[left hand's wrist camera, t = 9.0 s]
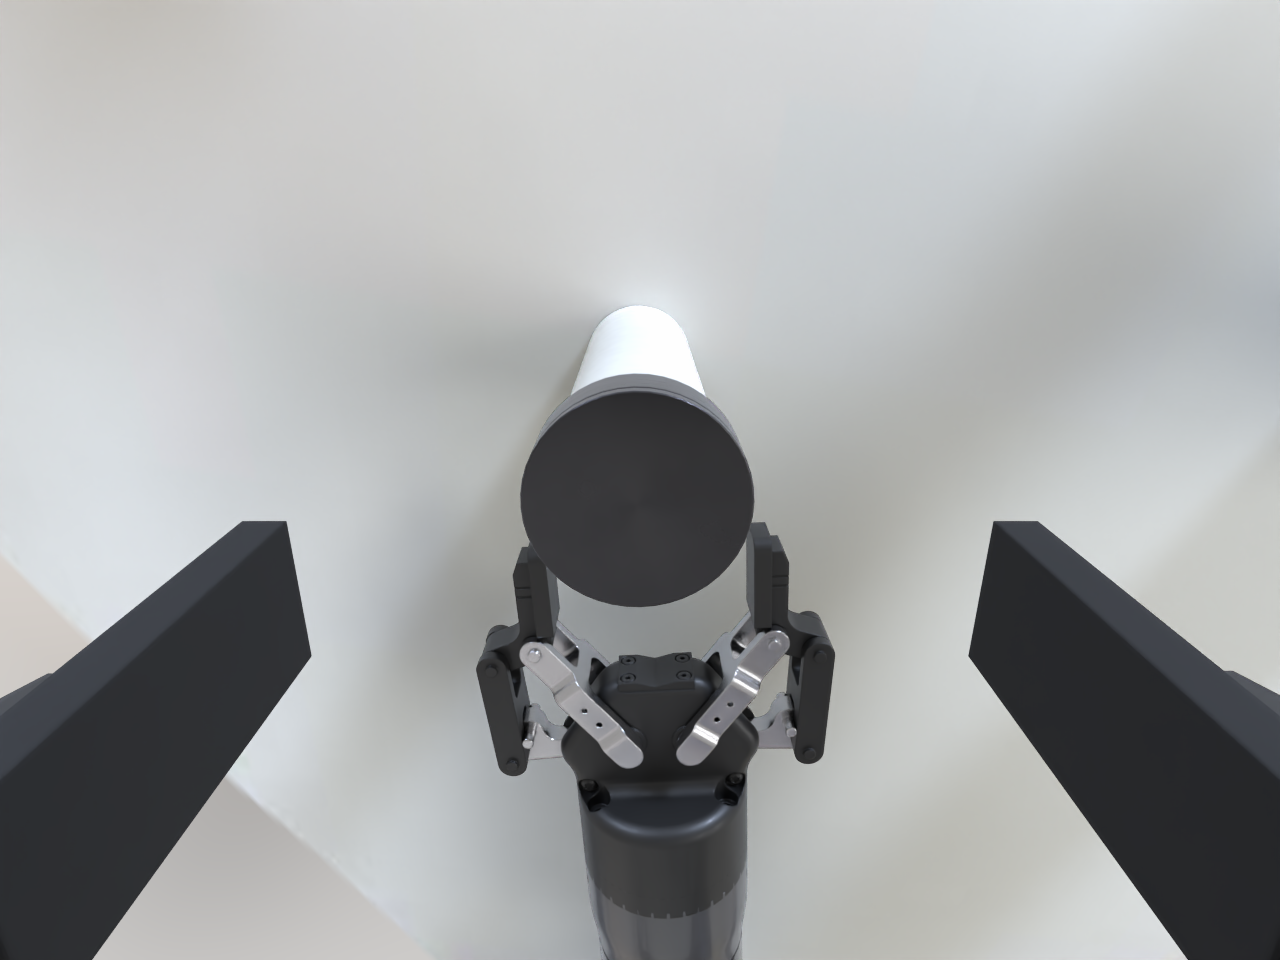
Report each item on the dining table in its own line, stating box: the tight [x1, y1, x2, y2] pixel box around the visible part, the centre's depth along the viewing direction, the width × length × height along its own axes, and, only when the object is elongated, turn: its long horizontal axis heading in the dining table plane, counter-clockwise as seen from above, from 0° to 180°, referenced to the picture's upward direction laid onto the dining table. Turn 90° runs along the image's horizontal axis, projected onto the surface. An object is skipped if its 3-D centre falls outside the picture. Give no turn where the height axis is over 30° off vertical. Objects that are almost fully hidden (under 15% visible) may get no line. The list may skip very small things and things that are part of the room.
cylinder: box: [570, 306, 706, 396], centre depth 25 cm, size 4×4×17 cm
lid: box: [520, 373, 754, 607], centre depth 18 cm, size 5×5×2 cm
